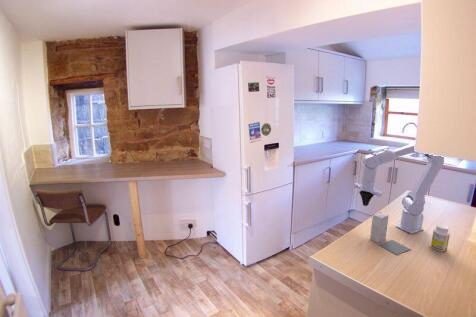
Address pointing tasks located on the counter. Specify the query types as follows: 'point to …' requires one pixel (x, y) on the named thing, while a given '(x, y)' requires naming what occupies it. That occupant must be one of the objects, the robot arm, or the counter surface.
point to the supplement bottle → (440, 238)
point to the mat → (394, 247)
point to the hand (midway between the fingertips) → (365, 205)
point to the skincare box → (379, 227)
